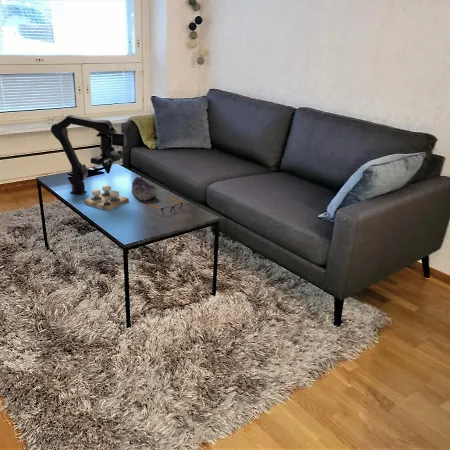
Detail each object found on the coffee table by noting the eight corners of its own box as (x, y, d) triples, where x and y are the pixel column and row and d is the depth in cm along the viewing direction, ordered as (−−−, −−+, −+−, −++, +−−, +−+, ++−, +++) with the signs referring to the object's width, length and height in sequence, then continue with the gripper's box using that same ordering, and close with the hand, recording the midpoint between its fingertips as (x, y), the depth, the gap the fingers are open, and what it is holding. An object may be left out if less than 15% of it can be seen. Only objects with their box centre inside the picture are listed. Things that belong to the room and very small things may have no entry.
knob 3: (108, 199, 239) (108, 192, 237) (114, 197, 242) (114, 189, 241) (115, 201, 237) (114, 194, 235) (121, 198, 240) (120, 191, 239)
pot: (103, 204, 233) (103, 197, 232) (106, 203, 235) (106, 195, 233) (107, 205, 232) (106, 198, 231) (110, 204, 234) (110, 196, 232)
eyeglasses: (162, 216, 230) (162, 208, 229) (144, 207, 239) (144, 200, 238) (183, 209, 240) (183, 202, 239) (165, 201, 249) (165, 194, 247)
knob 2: (100, 193, 246) (100, 186, 244) (106, 191, 249) (106, 184, 248) (107, 195, 244) (106, 188, 242) (113, 193, 247) (112, 186, 246)
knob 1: (90, 198, 239) (89, 190, 238) (96, 195, 243) (95, 188, 241) (96, 199, 237) (96, 192, 236) (102, 197, 241) (102, 190, 239)
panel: (84, 203, 239) (84, 199, 238) (106, 195, 252) (105, 191, 251) (108, 210, 232) (108, 206, 231) (128, 201, 245) (128, 197, 244)
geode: (124, 191, 259) (125, 174, 256) (142, 191, 266) (144, 174, 263) (139, 202, 243) (141, 183, 240) (158, 201, 250) (160, 183, 247)
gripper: (104, 151, 230) (106, 180, 236) (130, 144, 244) (131, 172, 251) (88, 147, 235) (90, 176, 241) (114, 140, 249) (116, 168, 256)
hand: (108, 173), depth 247 cm, fingers closed
